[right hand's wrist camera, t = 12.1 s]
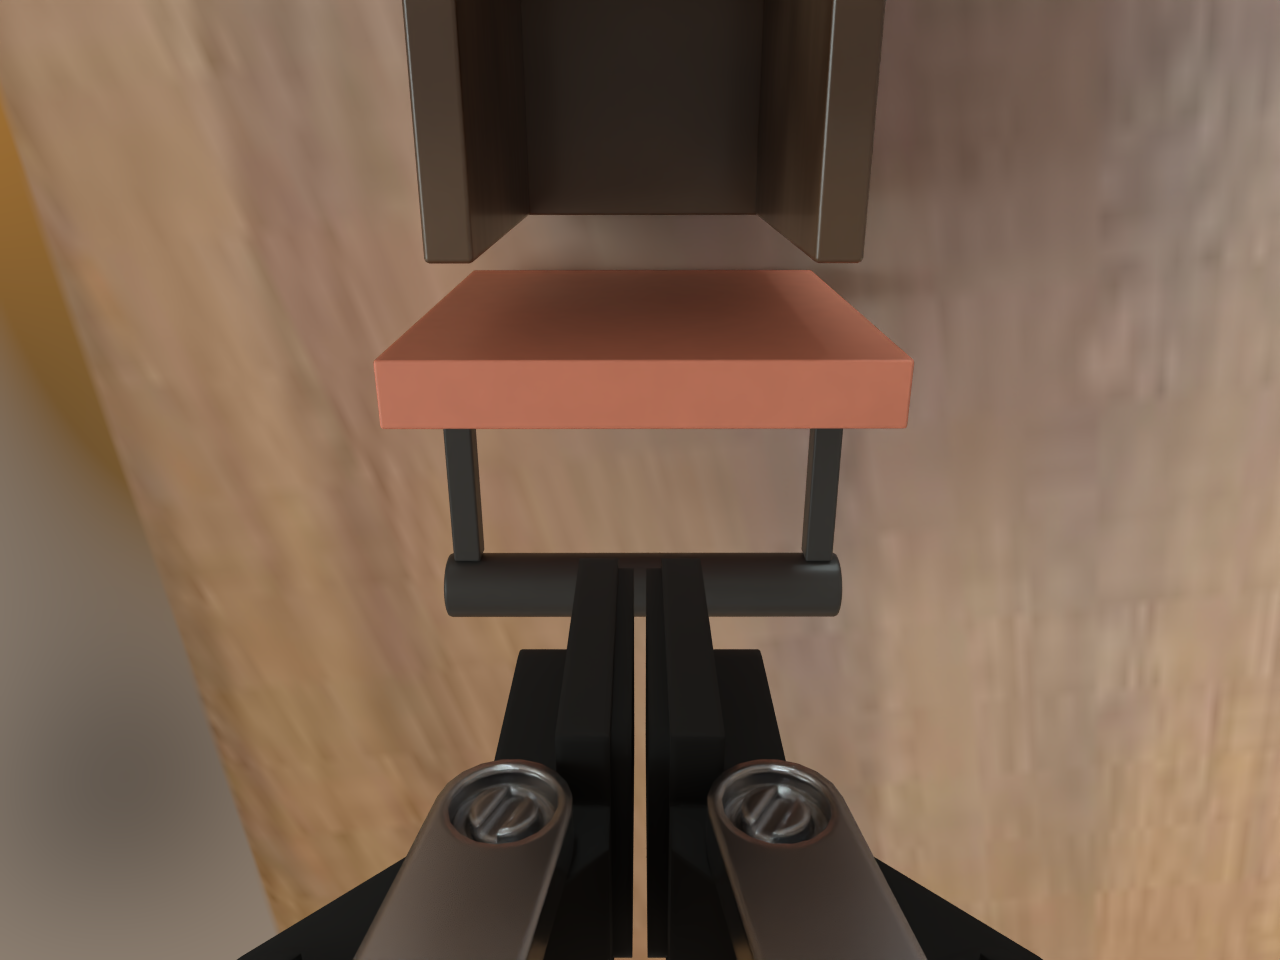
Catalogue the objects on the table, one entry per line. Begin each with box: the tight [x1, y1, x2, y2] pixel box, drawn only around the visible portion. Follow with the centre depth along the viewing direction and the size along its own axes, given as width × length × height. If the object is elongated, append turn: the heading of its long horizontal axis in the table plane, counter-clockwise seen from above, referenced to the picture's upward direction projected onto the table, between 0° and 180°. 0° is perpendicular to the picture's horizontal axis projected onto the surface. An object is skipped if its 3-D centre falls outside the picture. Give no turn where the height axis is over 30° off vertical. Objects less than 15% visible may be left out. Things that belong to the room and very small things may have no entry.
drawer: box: [374, 0, 914, 617], centre depth 18 cm, size 25×9×10 cm, turn 0°
